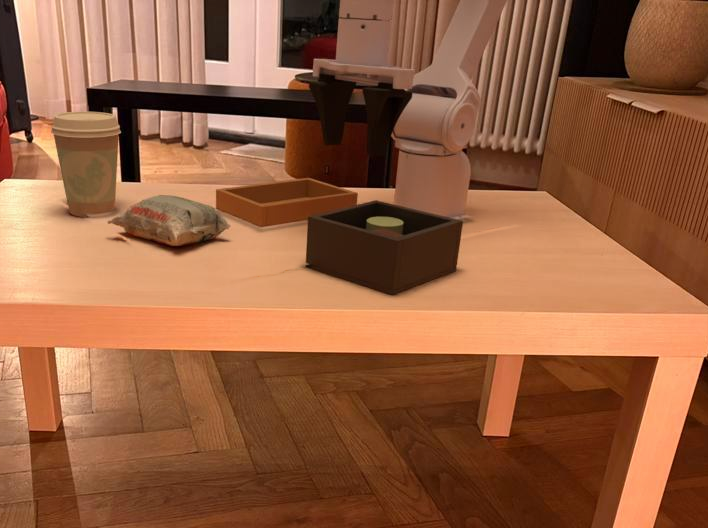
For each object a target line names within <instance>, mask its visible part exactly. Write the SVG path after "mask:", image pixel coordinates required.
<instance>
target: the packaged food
mask: <svg viewBox="0 0 708 528" xmlns="http://www.w3.org/2000/svg"><path fill="white" fill-rule="evenodd" d="M107 224H112V225H115V226H119V227H120V228H123V231H125V232H126V233H127V234H130V235H131V236H134V237H137V238H140V239H145V240H149V241H152V242H156V243H157V244H160V245H163V246H169V247H182V246H187V245H193V244H197V243H202V242H205V241H209V240H212V239H214V238H216V237H218V236H220V235H221V234H222V233H223V232H224V231H226V230H229V229H230V228H231V225H230V224H229V222H228V221H227V220H226V218H225V217H223V215H222V214H221V213H220V212H219V211H218V210H217V209H216V208H215V207H213V206H211V205H208V204H205V203H202V202H198V201H195V200H193V199H192V200H191V199H189V198H184V197H180V196H177V195H170V194H169V195H168V194H167V195H165V194H158V195H155V196H151V197H148V198H147V197H146V198H145V199H142V200H141V201H138V202H137V203H134V204H133V205H131V206H129V207H128V208H126V211H124V212H123V213H121V212H120V213H118V215H116V216H115V217H113V218H111V219H109V220H107Z"/></svg>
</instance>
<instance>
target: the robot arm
mask: <svg viewBox="0 0 708 528" xmlns="http://www.w3.org/2000/svg"><path fill="white" fill-rule="evenodd" d="M507 1H508V0H460V1H459V2H458V4H457V6H456V9H455V12H454V14H453V16H452V17H451V20H450V22H449V25H448V27H447V29H446V31H445V34H444V36H443V38H442V40H441V42H440V45H439V47H438V48H437V51H436V53H435V55H434V58H433V61H432V63H431V64H430V65H429V66H427V67H426V68H424V69H422V70H420V71H419V72H417V73H415V69H413V68H405V67H401V66H395V65H390V64H388V62H389V54H390V53H389V52H390V43H391V36H392V35H391V34H392V25H393V21H392V20H393V15H394V4H395V0H339V11H338V24H337V36H336V40H337V41H336V50H335V59H330V58H313V65H312V77H313V78H314V77H315V78H317V80H311V81H309V82H308V89H309V91H310V93H311V95H312V98H313V99H314V102H315V105H316V108H317V112H318V116H319V121H320V125H321V126H320V127H321V133H322V139H323V145H324V146H340V145H341V144H342V141H343V137H344V131H345V124H346V119H347V118H346V116H347V113H348V108H349V105H350V101H351V99H352V96H353V93H354V90H355V88H356V86H357V83H360V84H367V85H373V86H377V87H363V88H362V90H361V91H362V95H363V99H364V104H365V110H366V122H367V124H366V127H367V129H366V155H367V156H369V157H379V156H380V157H382V156H385V154H386V151H387V149H388V145H389V143H390V140H391V138H392V139H393V140H394V148H397V149H398V150H399V151H398V157H397V158H398V159H397V166H396V167H397V170H396V178H395V187H394V197H393V204H394V205H398V206H402V207H407V208H411V209H415V210H419V211H423V212H428V213H432V214H436V215H440V216H445V217H449V218H453V219H457V220H464V219H469V218H470V215H467V214H466V208H467V201H468V194H469V187H470V181H471V173H472V172H471V171H472V167H471V163H470V159H469V157H468V155H467V154H466V153H465V152H464V151H463V149H464V148H465V147H466V146H467V145H468V143H469V142H470V141H471V139H472V137H473V135H474V132H475V129H476V123H477V122H476V121H477V117H478V114H479V111H480V107H481V105H482V99H481V96H480V93H479V91H478V89H477V88H476V86H475V85H474V83H473V82H472V80H473V76H474V75H475V73H476V70H477V68H478V66H479V64H480V62H481V59H482V56H483V55H484V53H485V50H486V49H487V46H488V43H489V41H490V40H491V38H492V36H493V33H494V30H495V28H496V26H497V24H498V21H499V20H500V17H501V15H502V13H503V10H504V8H505V7H506V4H507ZM354 74H359V75H366V77H361V76H354Z"/></svg>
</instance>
